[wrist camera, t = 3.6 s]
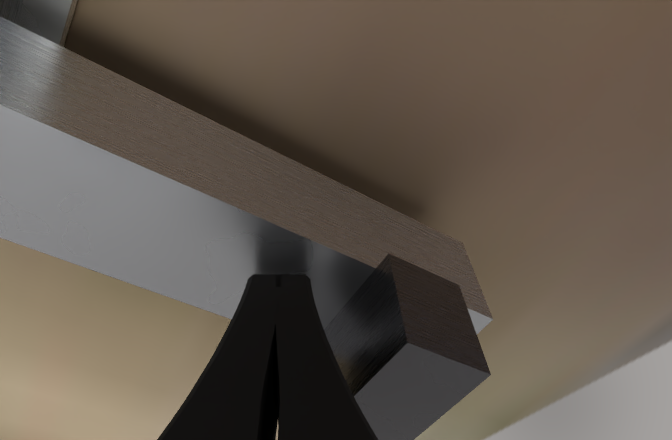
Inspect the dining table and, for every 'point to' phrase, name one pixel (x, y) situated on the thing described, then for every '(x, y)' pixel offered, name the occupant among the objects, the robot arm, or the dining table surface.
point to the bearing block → (41, 16)
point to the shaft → (232, 227)
